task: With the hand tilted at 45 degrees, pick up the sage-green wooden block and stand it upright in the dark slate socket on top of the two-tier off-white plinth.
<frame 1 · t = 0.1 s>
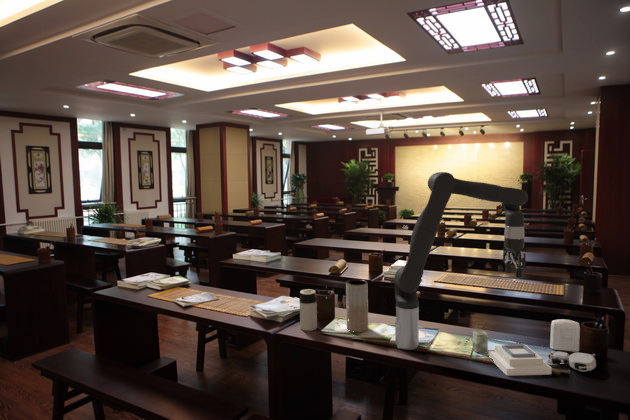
hand: (513, 275, 173), 29 cm above the table, tool pointing down, fingers open, 8 cm apart
block: (480, 350, 168), on the table
travel mug: (308, 328, 198), on the table
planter: (357, 329, 195), on the table
robot toy: (571, 366, 154), on the table
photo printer: (564, 349, 168), on the table
plinth: (517, 364, 156), on the table
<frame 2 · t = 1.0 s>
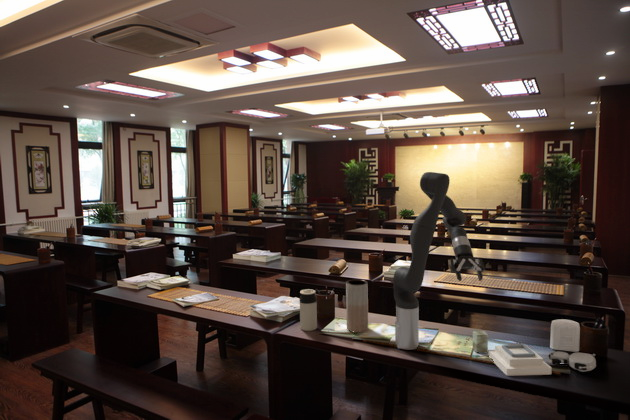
hand: (470, 280, 177), 27 cm above the table, tool tilted 45°, fingers open, 8 cm apart
nothing on the table moved.
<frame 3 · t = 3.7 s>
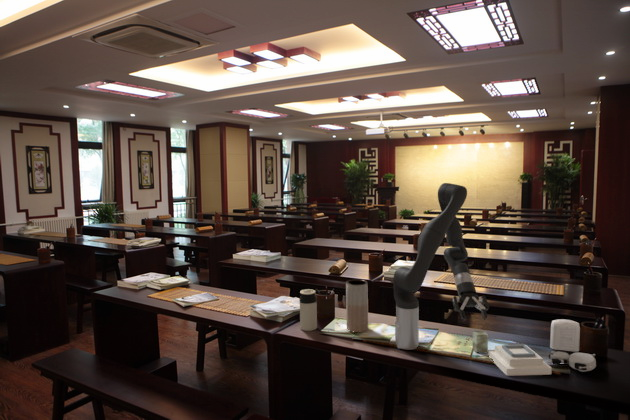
hand: (475, 319, 173), 11 cm above the table, tool tilted 45°, fingers open, 8 cm apart
nothing on the table moved.
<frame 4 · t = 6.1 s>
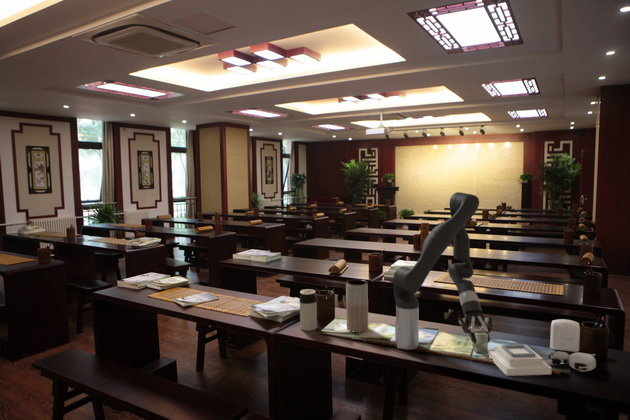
hand: (481, 342, 167), 4 cm above the table, tool tilted 45°, fingers closed on block, 4 cm apart
block: (480, 350, 168), on the table, touching gripper
everything else where it was.
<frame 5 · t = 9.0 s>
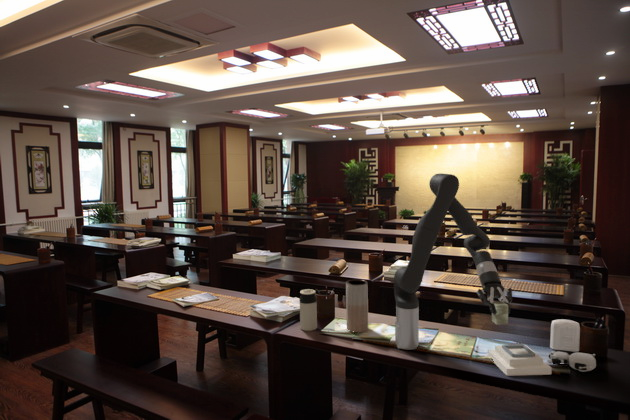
hand: (501, 313, 159), 18 cm above the table, tool tilted 45°, fingers closed on block, 4 cm apart
block: (499, 322, 161), point 14 cm above the table, touching gripper
everything else where it was.
when the fingers open (11 cm above the table, at t = 12.1 s): block drops 2 cm, resting on plinth.
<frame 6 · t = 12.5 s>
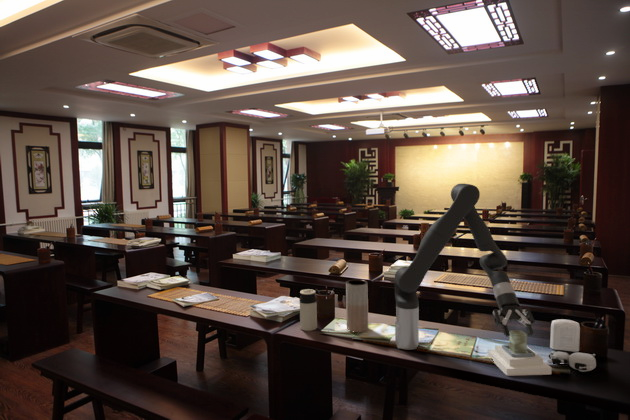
hand: (519, 335, 154), 12 cm above the table, tool tilted 45°, fingers open, 8 cm apart
block: (517, 351, 155), point 5 cm above the table, touching plinth
everything else where it was.
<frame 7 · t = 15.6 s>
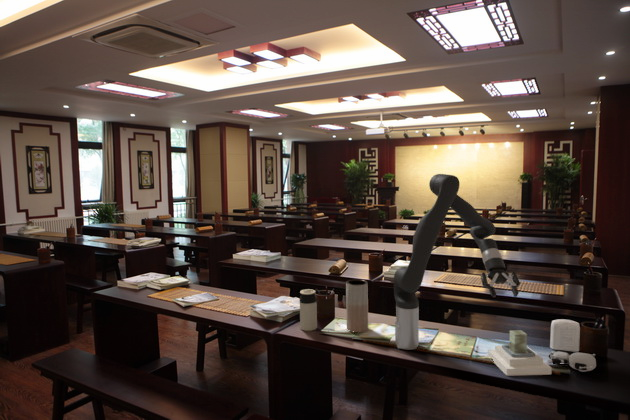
hand: (505, 296, 164), 23 cm above the table, tool tilted 45°, fingers open, 8 cm apart
nothing on the table moved.
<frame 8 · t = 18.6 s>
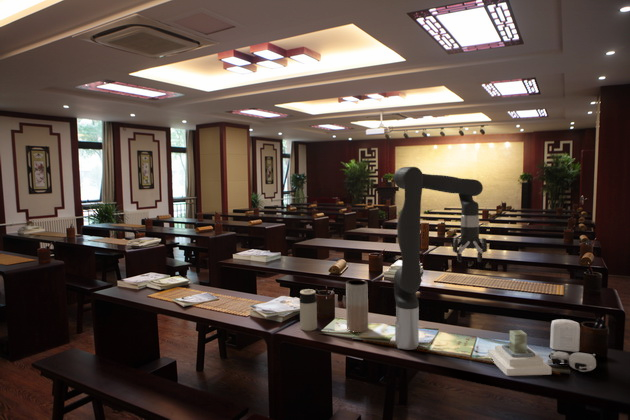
hand: (469, 261, 183), 33 cm above the table, tool pointing down, fingers open, 8 cm apart
nothing on the table moved.
at the end: block 0.2 cm off-centre on the plinth, point 5.0 cm above the plinth's base; block tilted 0°; the gripper is holding nothing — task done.
